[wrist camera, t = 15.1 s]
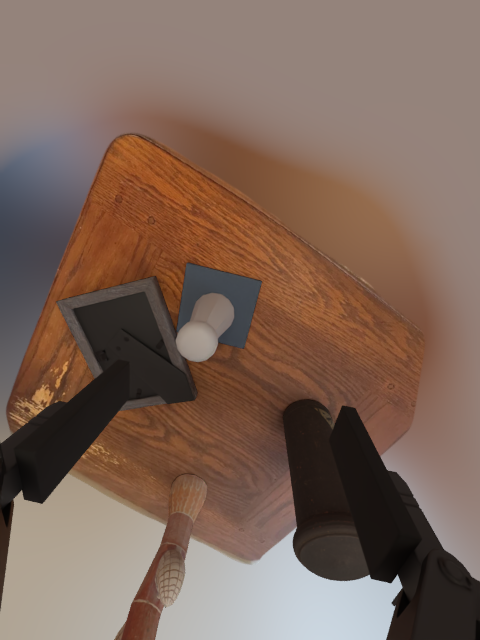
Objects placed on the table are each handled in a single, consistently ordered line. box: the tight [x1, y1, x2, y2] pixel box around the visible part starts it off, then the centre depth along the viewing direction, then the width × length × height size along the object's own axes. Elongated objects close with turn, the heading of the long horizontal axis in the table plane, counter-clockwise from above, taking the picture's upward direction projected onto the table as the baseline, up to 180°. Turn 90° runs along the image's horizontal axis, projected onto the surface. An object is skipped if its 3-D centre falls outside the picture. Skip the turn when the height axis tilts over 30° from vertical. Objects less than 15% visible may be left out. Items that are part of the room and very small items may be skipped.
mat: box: [176, 263, 262, 349], centre depth 37 cm, size 11×11×1 cm
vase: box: [114, 474, 207, 640], centre depth 37 cm, size 10×7×30 cm
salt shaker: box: [176, 293, 234, 362], centre depth 30 cm, size 6×6×13 cm
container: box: [283, 400, 370, 581], centre depth 33 cm, size 9×9×20 cm
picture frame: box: [56, 276, 198, 411], centre depth 40 cm, size 16×2×21 cm
